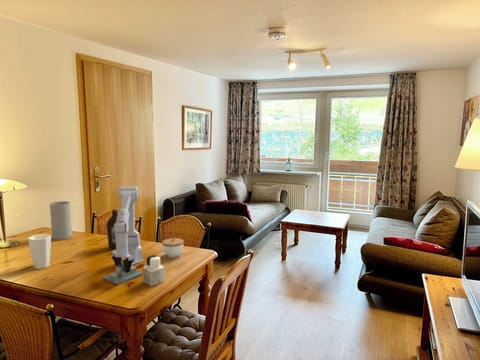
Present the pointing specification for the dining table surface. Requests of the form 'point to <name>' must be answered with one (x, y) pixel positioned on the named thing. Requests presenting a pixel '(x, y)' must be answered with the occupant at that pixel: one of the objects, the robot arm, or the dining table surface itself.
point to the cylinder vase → (60, 220)
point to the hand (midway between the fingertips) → (123, 270)
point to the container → (153, 271)
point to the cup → (40, 250)
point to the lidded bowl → (173, 247)
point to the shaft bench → (118, 280)
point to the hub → (121, 271)
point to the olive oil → (112, 230)
